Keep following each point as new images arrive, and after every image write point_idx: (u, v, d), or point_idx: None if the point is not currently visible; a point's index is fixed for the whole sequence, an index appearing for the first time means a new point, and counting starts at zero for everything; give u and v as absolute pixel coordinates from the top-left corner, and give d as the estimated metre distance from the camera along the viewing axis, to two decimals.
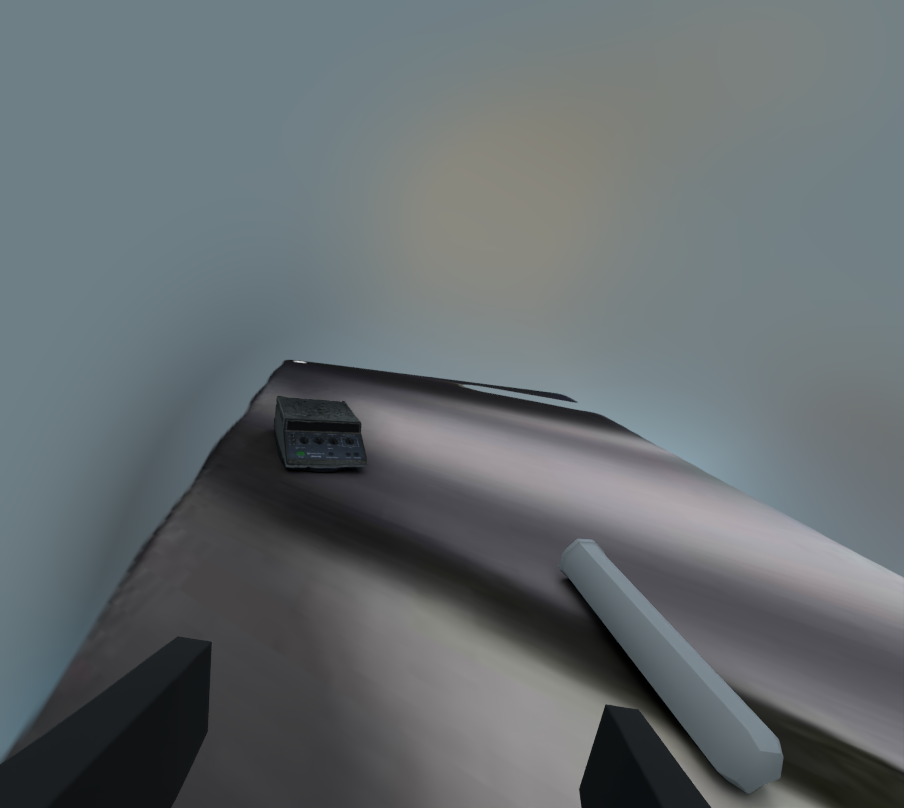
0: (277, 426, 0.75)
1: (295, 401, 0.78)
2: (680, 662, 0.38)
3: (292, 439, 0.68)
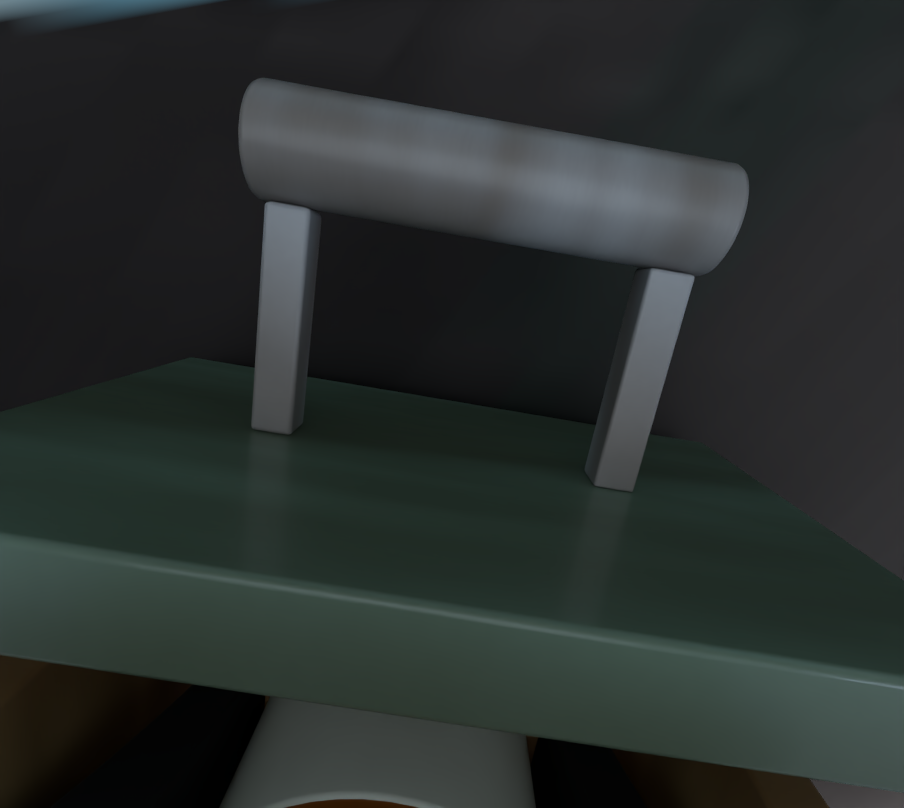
0: None
1: None
2: None
3: None
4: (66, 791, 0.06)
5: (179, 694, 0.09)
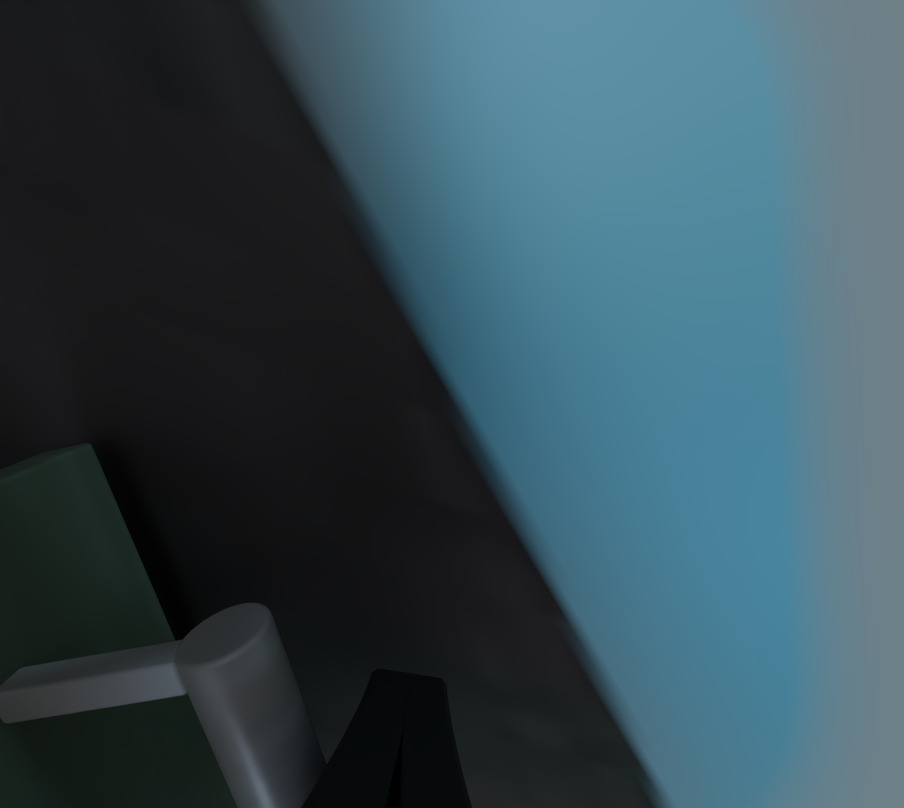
0: None
1: None
2: None
3: None
4: None
5: None
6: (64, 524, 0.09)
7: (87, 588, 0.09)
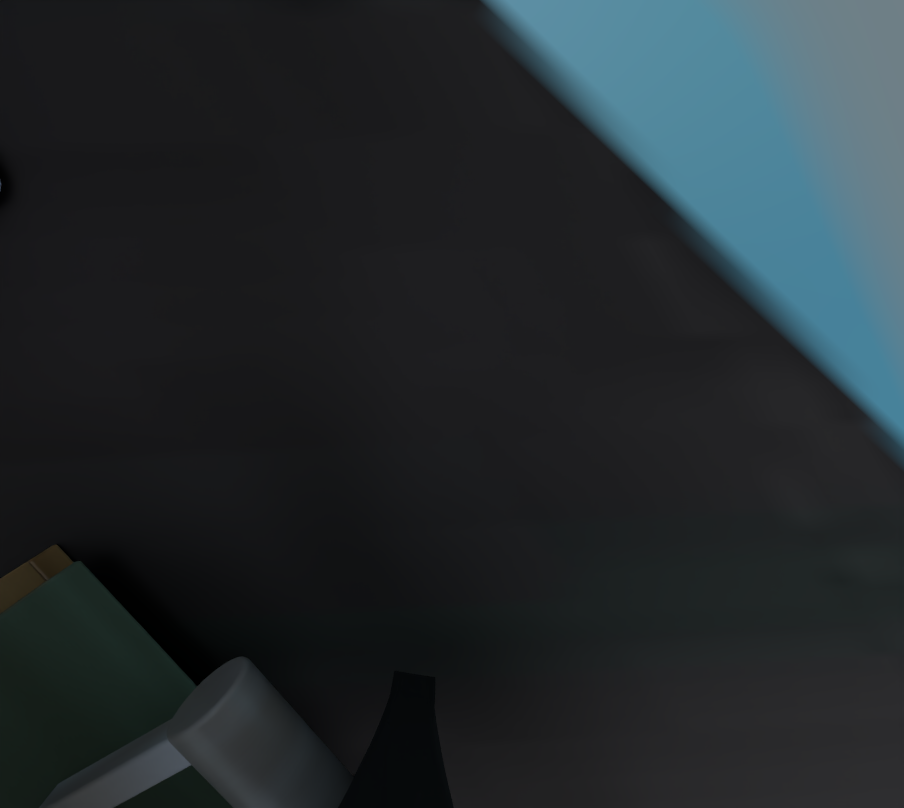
0: None
1: None
2: None
3: None
4: None
5: None
6: (71, 641, 0.10)
7: (112, 692, 0.10)
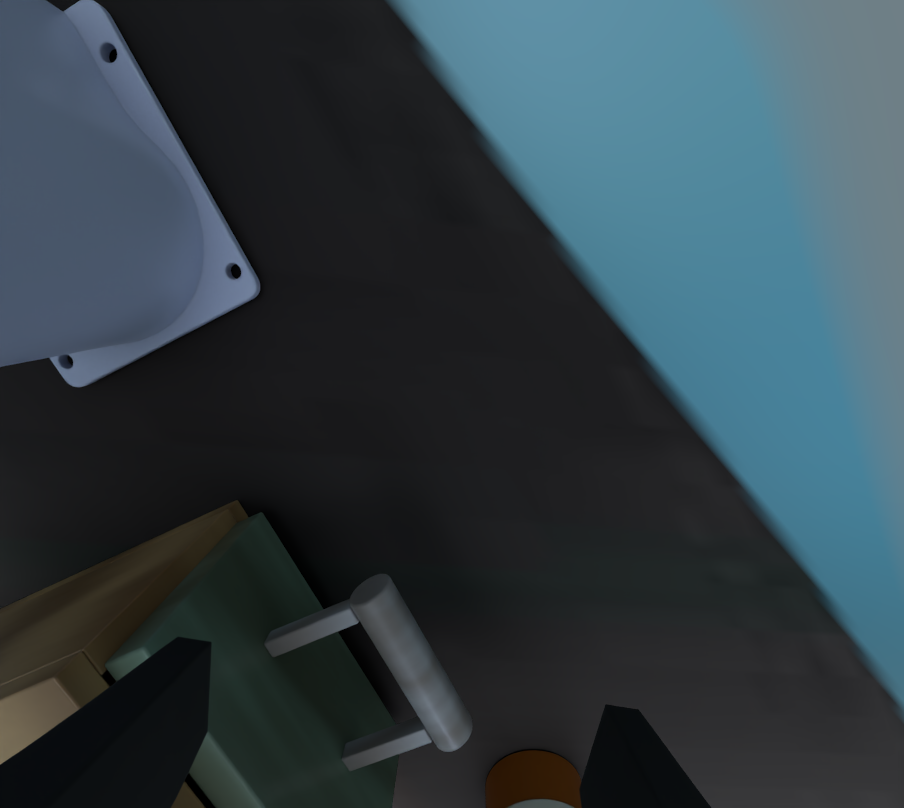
0: None
1: None
2: None
3: None
4: None
5: None
6: (264, 558, 0.17)
7: (283, 591, 0.17)
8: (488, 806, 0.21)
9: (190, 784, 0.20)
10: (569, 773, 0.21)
